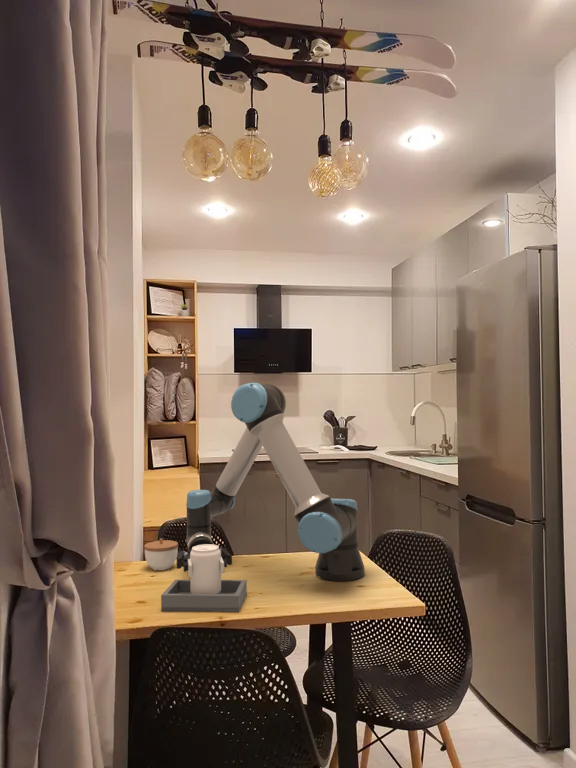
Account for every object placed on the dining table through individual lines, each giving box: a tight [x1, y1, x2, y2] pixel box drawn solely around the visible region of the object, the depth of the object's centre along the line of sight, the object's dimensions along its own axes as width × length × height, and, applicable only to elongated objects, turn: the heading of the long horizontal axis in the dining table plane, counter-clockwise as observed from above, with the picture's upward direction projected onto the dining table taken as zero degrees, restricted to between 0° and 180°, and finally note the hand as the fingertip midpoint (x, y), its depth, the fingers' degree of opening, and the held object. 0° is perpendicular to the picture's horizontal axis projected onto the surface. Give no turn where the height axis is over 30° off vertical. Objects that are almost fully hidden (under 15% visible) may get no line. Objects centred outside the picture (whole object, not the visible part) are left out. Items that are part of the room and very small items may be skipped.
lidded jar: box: [143, 538, 179, 571], centre depth 179 cm, size 11×11×9 cm
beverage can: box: [189, 543, 222, 594], centre depth 146 cm, size 8×8×12 cm
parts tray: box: [160, 579, 248, 613], centre depth 145 cm, size 20×13×4 cm, turn 86°
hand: (206, 569), depth 141 cm, fingers closed on beverage can, 7 cm apart
